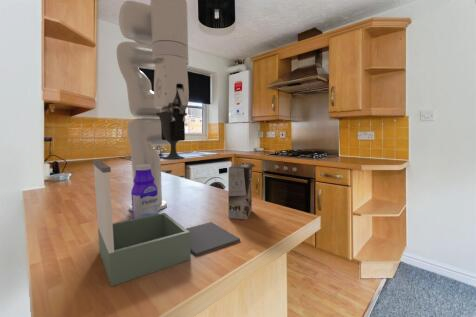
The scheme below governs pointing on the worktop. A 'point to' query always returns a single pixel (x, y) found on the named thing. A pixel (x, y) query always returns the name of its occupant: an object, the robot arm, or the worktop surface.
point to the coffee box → (240, 191)
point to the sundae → (168, 133)
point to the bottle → (144, 193)
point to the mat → (209, 238)
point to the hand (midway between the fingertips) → (172, 139)
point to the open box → (135, 237)
